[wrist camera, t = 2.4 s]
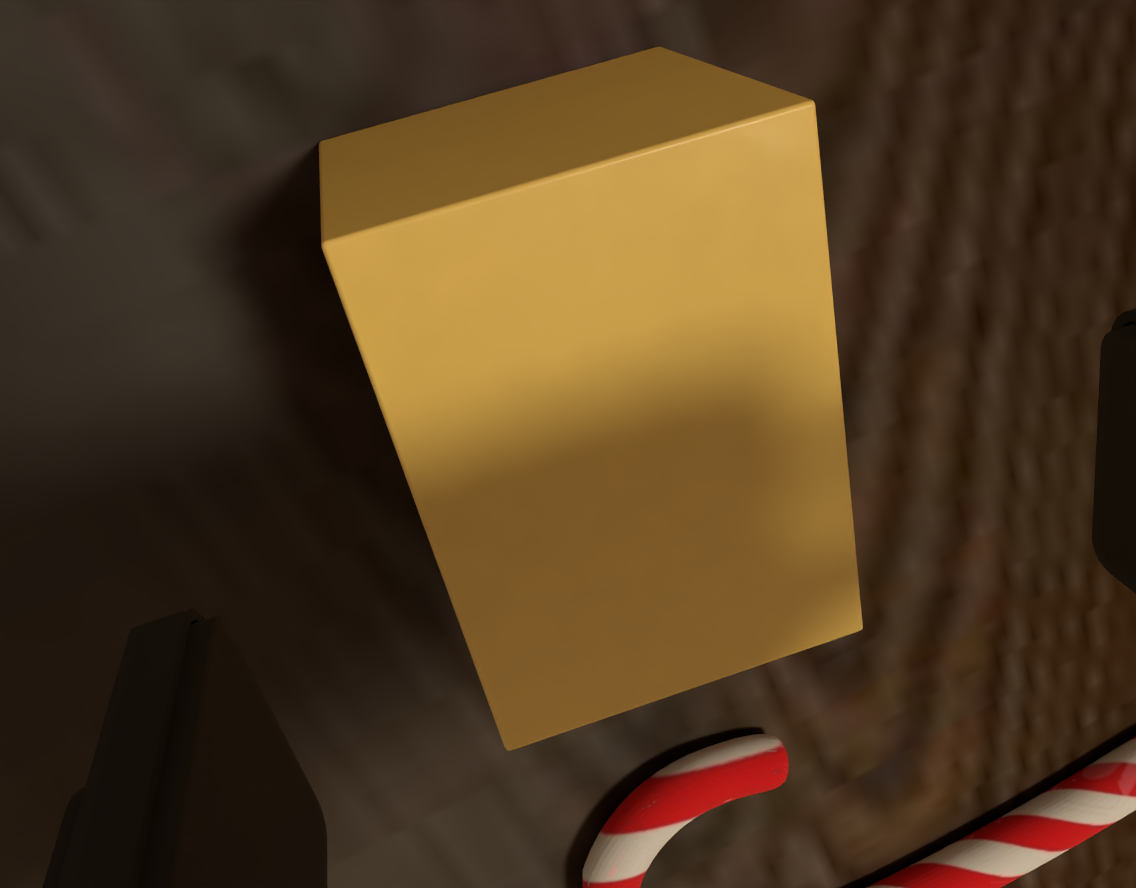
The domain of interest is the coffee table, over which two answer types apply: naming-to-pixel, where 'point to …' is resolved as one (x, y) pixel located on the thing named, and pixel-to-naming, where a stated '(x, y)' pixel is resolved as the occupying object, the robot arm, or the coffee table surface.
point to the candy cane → (934, 884)
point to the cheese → (607, 375)
